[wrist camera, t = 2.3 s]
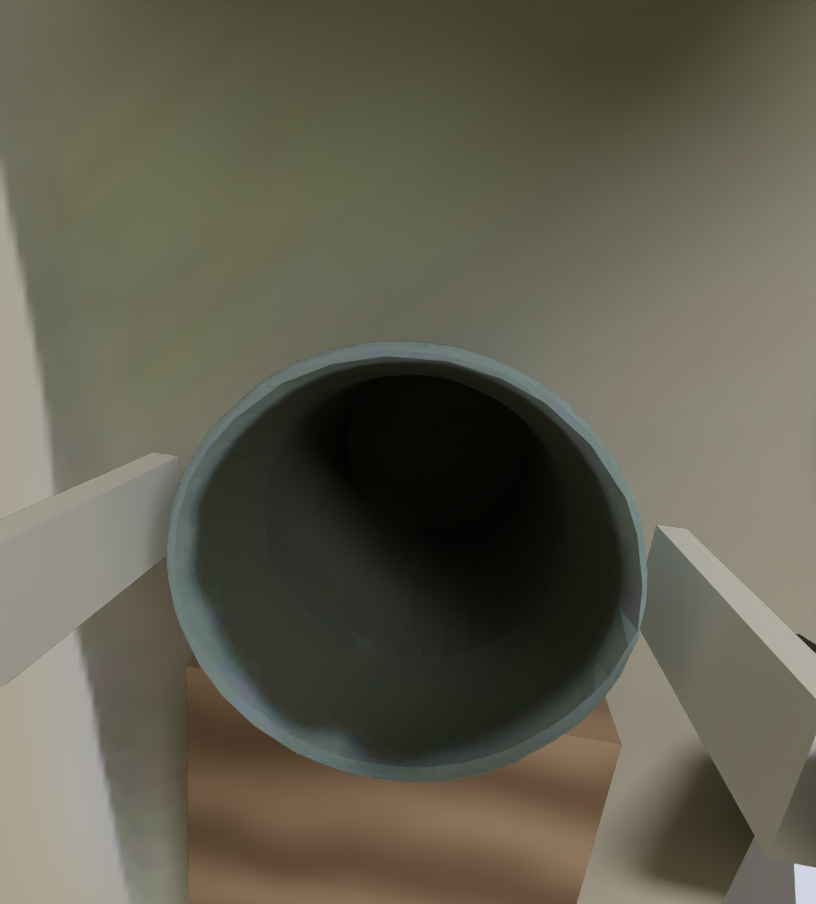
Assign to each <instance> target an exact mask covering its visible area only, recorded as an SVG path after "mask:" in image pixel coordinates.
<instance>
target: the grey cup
mask: <svg viewBox="0 0 816 904" xmlns="http://www.w3.org/2000/svg"><path fill="white" fill-rule="evenodd" d="M166 567H167V574H168V580H169V587H170V593H171V599H172V602H173V606H174V609H175V612H176V615H177V618H178V621H179V624H180V627H181V630H182V632H183V634H184V636H185V638H186V640H187V642H188V644H189V646H190V648H191V650H192V652H193V654H194V655H195V657H196V659H197V661H198V663H199V665H200V667H201V668H202V669H203V671H204V672H205V673H206V675H207V676H208V677H209V679H210V680H211V681H212V683H213V684H214V685H215V687H216V688H217V689H218V691H219V692H220V693H221V695H222V696H223V697H224V698H225V699H226V700H227V701H229V702H230V703H231V704H232V705H233V706H234V707H235V708H236V709H237V710H238V711H239V712H240V713H241V714H242V715H243V716H244V717H245V718H246V719H247V720H249V721H250V722H251V723H252V724H253V725H254V726H255V727H257V728H258V729H260V730H261V731H263V732H264V733H266V734H267V735H269V736H271V737H272V738H274V739H275V740H277V741H278V742H280V743H281V744H283V745H284V746H286V747H288V748H289V749H291V750H292V751H294V752H295V753H297V754H299V755H302V756H304V757H306V758H309V759H311V760H313V761H315V762H318V763H320V764H323V765H326V766H329V767H332V768H335V769H338V770H341V771H343V772H346V773H349V774H352V775H358V776H364V777H370V778H376V779H382V780H388V781H396V782H441V781H447V780H453V779H459V778H465V777H471V776H478V775H484V774H487V773H489V772H492V771H495V770H497V769H500V768H502V767H505V766H507V765H510V764H512V763H515V762H517V761H519V760H521V759H522V758H524V757H526V756H527V755H529V754H531V753H533V752H535V751H537V750H538V749H540V748H542V747H544V746H546V745H548V744H549V743H551V742H553V741H555V740H556V739H558V738H559V737H561V736H562V735H563V734H565V733H566V732H568V731H569V730H571V729H572V728H574V727H575V726H576V725H578V724H579V723H580V722H581V721H582V720H583V719H584V718H585V717H586V716H587V715H588V714H589V713H590V712H591V711H592V710H593V709H594V708H595V707H596V706H597V705H599V704H600V702H601V701H602V700H603V698H604V697H605V695H606V694H607V693H608V691H609V690H610V689H611V687H612V686H613V685H614V683H615V682H616V681H617V679H618V678H619V676H620V674H621V672H622V670H623V668H624V666H625V664H626V662H627V660H628V658H629V656H630V654H631V652H632V650H633V647H634V645H635V643H636V641H637V639H638V634H639V630H640V626H641V622H642V618H643V613H644V609H645V605H646V594H647V576H648V572H647V562H646V553H645V543H644V536H643V531H642V527H641V522H640V518H639V513H638V510H637V507H636V504H635V502H634V499H633V496H632V494H631V491H630V489H629V486H628V483H627V482H626V480H625V478H624V476H623V474H622V472H621V470H620V468H619V466H618V465H617V463H616V461H615V459H614V458H613V456H612V455H611V453H610V452H609V450H608V449H607V447H606V446H605V444H604V443H603V442H602V441H601V439H600V438H599V437H598V436H597V434H596V433H595V432H594V431H593V429H592V428H591V427H590V426H589V425H588V423H587V422H586V421H584V420H583V419H582V418H581V417H580V416H579V415H578V414H577V413H576V412H575V411H574V410H573V409H572V408H571V407H570V406H569V405H568V404H567V403H566V402H565V401H564V400H563V399H562V398H561V397H560V396H558V395H557V394H555V393H554V392H552V391H551V390H549V389H548V388H546V387H545V386H543V385H542V384H540V383H538V382H537V381H535V380H534V379H532V378H531V377H529V376H528V375H526V374H525V373H523V372H522V371H520V370H517V369H515V368H513V367H510V366H508V365H506V364H503V363H501V362H499V361H496V360H494V359H492V358H489V357H487V356H484V355H481V354H477V353H474V352H470V351H467V350H463V349H460V348H456V347H453V346H445V345H438V344H430V343H423V342H415V341H405V342H368V343H362V344H357V345H352V346H347V347H342V348H336V349H331V350H328V351H325V352H322V353H319V354H316V355H313V356H310V357H307V358H304V359H301V360H298V361H295V362H293V363H292V364H290V365H288V366H286V367H285V368H283V369H281V370H279V371H278V372H276V373H274V374H272V375H271V376H269V377H268V378H267V379H265V380H264V381H262V382H261V383H259V384H258V385H257V386H255V387H254V388H253V389H252V390H251V391H250V392H249V393H248V394H246V395H245V396H244V397H243V398H242V399H241V400H240V401H239V402H238V403H237V404H236V405H235V406H234V407H232V408H231V409H230V410H229V411H228V412H227V413H226V414H225V415H224V416H223V417H222V418H221V419H220V420H219V421H218V422H217V423H216V424H215V425H214V426H213V427H212V428H211V429H210V430H209V431H208V433H207V434H206V436H205V438H204V439H203V441H202V442H201V444H200V446H199V447H198V449H197V451H196V452H195V454H194V455H193V457H192V459H191V460H190V462H189V464H188V465H187V467H186V468H185V470H184V472H183V474H182V477H181V480H180V483H179V486H178V488H177V491H176V494H175V497H174V500H173V503H172V506H171V512H170V518H169V524H168V530H167V536H166Z"/></svg>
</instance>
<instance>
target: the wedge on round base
mask: <svg viewBox="0 0 816 904" xmlns="http://www.w3.org/2000/svg"><path fill="white" fill-rule="evenodd" d="M722 904H816V868H815V867H810V866H804V865H799V864H794V863H788V862H783V861H778V860H772V859H767V857H766V855H765V854H764V852H763V850H762V848H761V846H760V845H759V843H758V841H757V839H756V837H755V836H754V838H753V840H752V843H751V845H750V847H749V849H748V851H747V853H746V855H745V857H744V859H743V861H742V863H741V865H740V867H739V869H738V871H737V873H736V875H735V878H734V880H733V882H732V884H731V886H730V888H729V890H728V892H727V894H726V896H725V898H724V900H723V902H722Z"/></svg>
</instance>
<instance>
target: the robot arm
mask: <svg viewBox="0 0 816 904" xmlns="http://www.w3.org/2000/svg"><path fill="white" fill-rule="evenodd" d="M178 486H179V456H173V455H166V454H159V453H151V454H148V455H146V456H144V457H141V458H139V459H137V460H135V461H132V462H130V463H128V464H125V465H123V466H121V467H119V468H116V469H114V470H112V471H109V472H107V473H105V474H103V475H100V476H98V477H96V478H93V479H91V480H89V481H87V482H84V483H82V484H80V485H77V486H75V487H73V488H71V489H68V490H66V491H64V492H61V493H59V494H57V495H55V496H52V497H50V498H48V499H45V500H43V501H41V502H39V503H36V504H34V505H32V506H29V507H27V508H25V509H23V510H20V511H18V512H16V513H14V514H11V515H9V516H7V517H4V518H2V519H0V689H1V688H2V687H3V686H5V685H6V684H7V683H8V682H10V681H11V680H12V679H13V678H15V677H16V676H17V675H18V674H20V673H21V672H22V671H23V670H25V669H26V668H27V667H28V666H30V665H31V664H32V663H33V662H34V661H36V660H37V659H38V658H40V657H41V656H42V655H43V654H45V653H46V652H47V651H48V650H49V649H51V648H52V647H53V646H55V645H56V644H57V643H58V642H60V640H62V639H63V638H64V637H66V636H67V635H68V634H69V633H71V632H72V631H73V630H74V629H76V628H77V627H78V626H79V625H81V624H82V623H83V622H84V621H86V620H87V619H88V618H89V617H91V616H92V615H93V614H94V613H96V612H97V611H98V610H99V609H101V608H102V607H103V606H104V605H106V604H107V603H108V602H109V601H111V600H112V599H113V598H114V597H116V596H117V595H118V594H119V593H121V592H122V591H123V590H124V589H126V588H127V587H128V586H129V585H131V584H132V583H133V582H134V581H136V580H137V579H138V578H139V577H141V576H142V575H143V574H144V573H145V572H147V571H148V570H149V569H150V568H152V567H153V566H154V565H155V564H157V563H158V562H159V561H160V560H162V559H163V558H164V557H165V556H166V536H167V530H168V524H169V518H170V512H171V506H172V503H173V500H174V497H175V494H176V491H177V488H178ZM647 572H648V576H647V594H646V605H645V609H644V613H643V618H642V622H641V626H640V631H641V632H642V634H643V636H644V638H645V640H646V641H647V643H648V645H649V647H650V649H651V650H652V652H653V654H654V656H655V658H656V659H657V661H658V663H659V665H660V667H661V668H662V670H663V672H664V674H665V676H666V677H667V679H668V681H669V683H670V685H671V686H672V688H673V690H674V692H675V694H676V695H677V697H678V699H679V701H680V703H681V704H682V706H683V708H684V710H685V712H686V713H687V715H688V717H689V719H690V721H691V722H692V724H693V726H694V728H695V730H696V731H697V733H698V735H699V737H700V739H701V740H702V742H703V744H704V746H705V748H706V749H707V751H708V753H709V755H710V756H711V758H712V760H713V762H714V764H715V765H716V767H717V769H718V771H719V773H720V774H721V776H722V778H723V780H724V782H725V783H726V785H727V787H728V789H729V791H730V792H731V794H732V796H733V798H734V800H735V801H736V803H737V805H738V807H739V809H740V810H741V812H742V814H743V816H744V818H745V819H746V821H747V823H748V825H749V827H750V828H751V830H752V832H753V834H754V836H755V837H756V839H757V841H758V843H759V845H760V846H761V848H762V850H763V852H764V854H765V855H766V857H767V859H772V860H778V861H783V862H788V863H794V864H799V865H804V866H810V867H815V868H816V644H814V643H812V642H811V641H809V640H808V639H806V638H805V637H803V636H801V635H800V634H795V633H794V632H793V631H792V630H791V629H790V628H789V627H788V626H787V625H786V624H784V623H783V622H782V621H781V620H780V619H779V618H778V617H777V616H776V615H775V614H774V613H773V612H772V611H771V610H770V609H769V608H768V607H767V606H766V605H765V604H764V603H763V602H762V601H761V600H760V599H759V598H757V597H756V596H755V595H754V594H753V593H752V592H751V591H750V590H749V589H748V588H747V587H746V586H745V585H744V584H743V583H742V582H741V581H740V580H739V579H738V578H737V577H736V576H735V575H734V574H733V573H732V572H731V571H729V570H728V569H727V568H726V567H725V566H724V565H723V564H722V563H721V562H720V561H719V560H718V559H717V558H716V557H715V556H714V555H713V554H712V553H711V552H710V551H709V550H708V549H707V548H706V547H705V546H704V545H703V544H701V543H700V542H699V541H698V540H697V539H696V538H695V537H694V536H693V535H692V534H691V533H690V532H689V531H688V530H687V529H682V528H675V527H668V526H661V525H656V529H655V533H654V537H653V540H652V544H651V548H650V552H649V556H648V560H647Z"/></svg>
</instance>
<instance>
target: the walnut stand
mask: <svg viewBox="0 0 816 904" xmlns="http://www.w3.org/2000/svg"><path fill="white" fill-rule="evenodd" d="M186 709H187V798H188V887H189V904H576V903H577V900H578V896H579V893H580V889H581V886H582V882H583V879H584V875H585V872H586V868H587V865H588V861H589V858H590V854H591V851H592V847H593V844H594V840H595V836H596V833H597V829H598V826H599V822H600V819H601V815H602V812H603V808H604V805H605V801H606V798H607V794H608V791H609V787H610V784H611V780H612V777H613V773H614V770H615V766H616V763H617V759H618V756H619V752H620V749H621V742H620V739H619V736H618V733H617V730H616V727H615V724H614V721H613V719H612V716H611V713H610V710H609V707H608V704H607V701H606V698H605V697H604V698H603V700H602V701H601V702H600V704H599V705H597V706H596V707H595V708H594V709H593V710H592V711H591V712H590V713H589V714H588V715H587V716H586V717H585V718H584V719H583V720H582V721H581V722H580V723H579V724H578V725H576V726H575V727H574V728H572V729H571V730H569V731H568V732H566V733H565V734H563V735H562V736H561V737H559V738H558V739H556V740H555V741H553V742H551V743H549V744H548V745H546V746H544V747H542V748H540V749H538V750H537V751H535V752H533V753H531V754H529V755H527V756H526V757H524V758H522V759H521V760H519V761H517V762H515V763H512V764H510V765H507V766H505V767H502V768H500V769H497V770H495V771H492V772H489V773H487V774H484V775H478V776H471V777H465V778H459V779H453V780H447V781H441V782H396V781H388V780H382V779H376V778H370V777H364V776H358V775H352V774H349V773H346V772H343V771H341V770H338V769H335V768H332V767H329V766H326V765H323V764H320V763H318V762H315V761H313V760H311V759H309V758H306V757H304V756H302V755H299V754H297V753H295V752H294V751H292V750H291V749H289V748H288V747H286V746H284V745H283V744H281V743H280V742H278V741H277V740H275V739H274V738H272V737H271V736H269V735H267V734H266V733H264V732H263V731H261V730H260V729H258V728H257V727H255V726H254V725H253V724H252V723H251V722H250V721H249V720H247V719H246V718H245V717H244V716H243V715H242V714H241V713H240V712H239V711H238V710H237V709H236V708H235V707H234V706H233V705H232V704H231V703H230V702H229V701H227V700H226V699H225V698H224V697H223V696H222V695H221V693H220V692H219V691H218V689H217V688H216V687H215V685H214V684H213V683H212V681H211V680H210V679H209V677H208V676H207V675H206V673H205V672H204V671H203V669H202V668H201V667H200V665H199V663H198V661H197V659H196V657H195V656H194V657H193V658H192V659H191V661H190V662H189V663H188V664H187V666H186Z"/></svg>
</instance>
